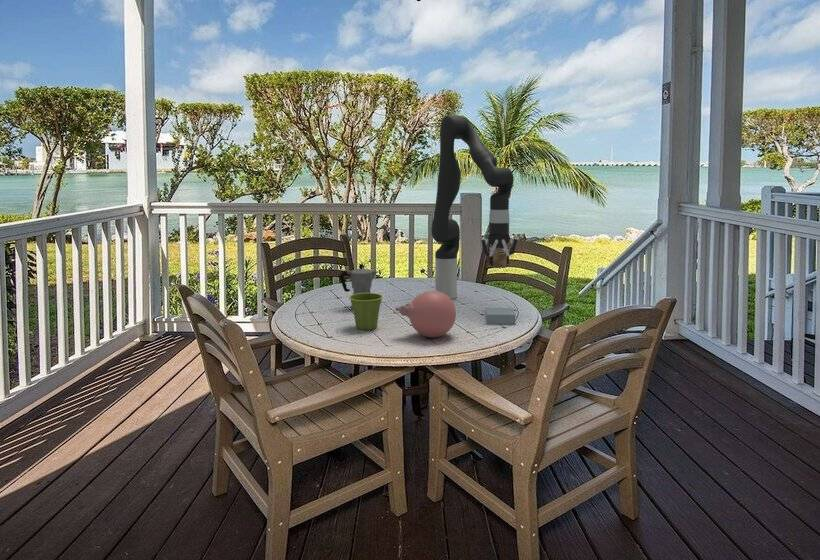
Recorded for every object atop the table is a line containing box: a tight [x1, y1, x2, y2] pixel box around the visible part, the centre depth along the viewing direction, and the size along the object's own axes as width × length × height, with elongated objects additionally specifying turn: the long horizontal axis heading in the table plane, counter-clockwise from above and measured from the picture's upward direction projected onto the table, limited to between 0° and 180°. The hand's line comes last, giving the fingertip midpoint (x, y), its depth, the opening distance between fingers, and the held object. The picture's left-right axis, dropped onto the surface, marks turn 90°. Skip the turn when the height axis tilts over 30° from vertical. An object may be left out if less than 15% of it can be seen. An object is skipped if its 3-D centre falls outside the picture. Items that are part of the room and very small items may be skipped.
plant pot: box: [348, 292, 384, 331], centre depth 206 cm, size 12×12×11 cm
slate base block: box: [485, 307, 516, 326], centre depth 214 cm, size 10×10×4 cm
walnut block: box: [491, 252, 508, 269], centre depth 226 cm, size 5×5×5 cm
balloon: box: [394, 290, 457, 338], centre depth 194 cm, size 15×20×15 cm
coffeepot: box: [338, 263, 379, 311], centre depth 232 cm, size 15×9×18 cm, turn 107°
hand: (498, 265), depth 226 cm, fingers closed on walnut block, 5 cm apart
